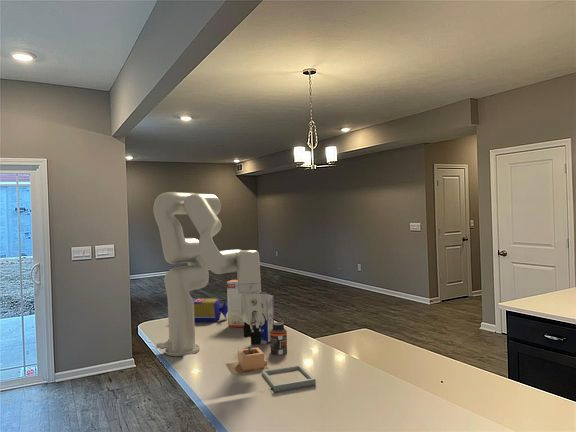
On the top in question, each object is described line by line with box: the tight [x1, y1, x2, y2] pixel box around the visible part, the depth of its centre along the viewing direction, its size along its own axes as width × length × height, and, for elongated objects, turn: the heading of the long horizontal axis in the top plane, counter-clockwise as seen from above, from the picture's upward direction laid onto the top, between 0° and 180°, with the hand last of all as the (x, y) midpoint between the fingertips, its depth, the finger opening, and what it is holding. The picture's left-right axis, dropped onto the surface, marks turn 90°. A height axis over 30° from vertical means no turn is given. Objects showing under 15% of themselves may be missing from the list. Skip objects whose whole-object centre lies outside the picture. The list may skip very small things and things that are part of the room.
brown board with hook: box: [225, 346, 270, 375], centre depth 135 cm, size 12×10×6 cm
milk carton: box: [253, 291, 275, 346], centre depth 164 cm, size 7×7×20 cm
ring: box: [237, 346, 268, 371], centre depth 136 cm, size 9×7×4 cm
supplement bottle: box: [269, 321, 288, 356], centre depth 148 cm, size 6×6×11 cm
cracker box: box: [226, 279, 244, 328], centre depth 190 cm, size 14×6×21 cm, turn 71°
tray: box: [261, 364, 317, 394], centre depth 124 cm, size 13×13×2 cm
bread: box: [192, 298, 228, 323], centre depth 204 cm, size 10×25×10 cm, turn 85°
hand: (252, 340), depth 135 cm, fingers open, 9 cm apart
